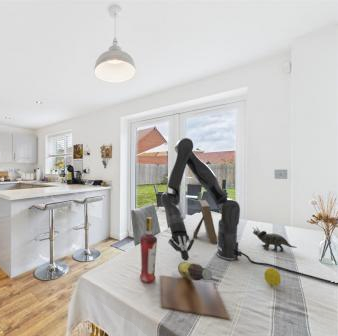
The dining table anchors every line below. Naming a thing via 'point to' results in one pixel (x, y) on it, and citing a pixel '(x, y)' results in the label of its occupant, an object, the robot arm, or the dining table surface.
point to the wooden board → (192, 297)
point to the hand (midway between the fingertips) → (186, 259)
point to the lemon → (272, 276)
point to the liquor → (148, 253)
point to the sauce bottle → (194, 271)
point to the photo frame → (206, 222)
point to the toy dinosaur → (271, 240)
